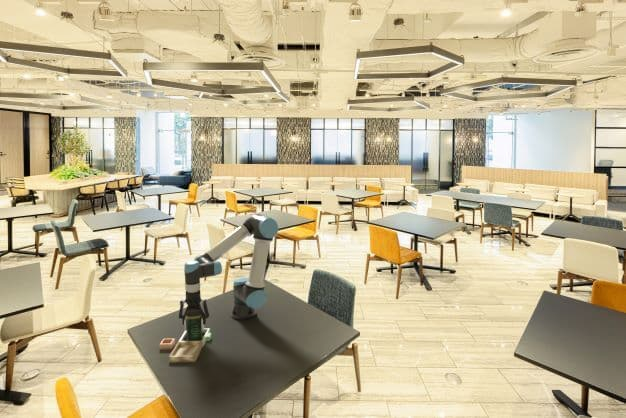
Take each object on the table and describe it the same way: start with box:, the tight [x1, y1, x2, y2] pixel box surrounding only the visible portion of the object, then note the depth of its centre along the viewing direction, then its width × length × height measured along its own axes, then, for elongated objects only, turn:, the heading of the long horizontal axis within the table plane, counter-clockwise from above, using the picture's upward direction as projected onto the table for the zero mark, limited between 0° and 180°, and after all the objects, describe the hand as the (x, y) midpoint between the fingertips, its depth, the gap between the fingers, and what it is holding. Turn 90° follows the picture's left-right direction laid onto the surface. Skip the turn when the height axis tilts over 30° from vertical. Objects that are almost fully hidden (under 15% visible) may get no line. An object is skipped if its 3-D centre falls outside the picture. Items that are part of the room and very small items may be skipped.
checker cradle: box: [177, 327, 212, 347], centre depth 201 cm, size 15×15×2 cm
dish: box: [159, 337, 176, 351], centre depth 193 cm, size 6×6×3 cm
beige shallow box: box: [168, 340, 204, 363], centre depth 186 cm, size 13×14×3 cm
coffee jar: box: [185, 307, 203, 341], centre depth 200 cm, size 10×8×19 cm
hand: (194, 329), depth 200 cm, fingers closed on coffee jar, 8 cm apart
